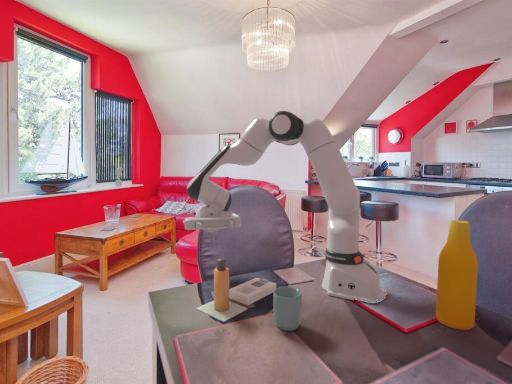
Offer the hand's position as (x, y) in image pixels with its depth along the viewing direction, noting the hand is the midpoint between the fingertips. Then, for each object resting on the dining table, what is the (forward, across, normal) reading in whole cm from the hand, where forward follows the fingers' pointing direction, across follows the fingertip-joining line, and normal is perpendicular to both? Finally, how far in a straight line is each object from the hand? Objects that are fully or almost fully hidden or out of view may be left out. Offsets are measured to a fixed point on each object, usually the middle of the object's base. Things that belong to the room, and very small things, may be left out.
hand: (216, 226), depth 100 cm
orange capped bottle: (+12, -1, +23) cm, 26 cm away
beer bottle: (+38, +61, +25) cm, 76 cm away
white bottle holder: (+5, +11, +24) cm, 27 cm away
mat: (+12, -1, +24) cm, 27 cm away
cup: (+26, +15, +24) cm, 39 cm away
